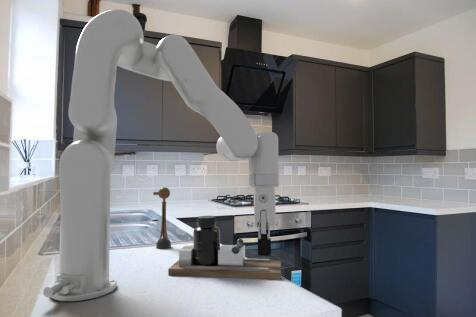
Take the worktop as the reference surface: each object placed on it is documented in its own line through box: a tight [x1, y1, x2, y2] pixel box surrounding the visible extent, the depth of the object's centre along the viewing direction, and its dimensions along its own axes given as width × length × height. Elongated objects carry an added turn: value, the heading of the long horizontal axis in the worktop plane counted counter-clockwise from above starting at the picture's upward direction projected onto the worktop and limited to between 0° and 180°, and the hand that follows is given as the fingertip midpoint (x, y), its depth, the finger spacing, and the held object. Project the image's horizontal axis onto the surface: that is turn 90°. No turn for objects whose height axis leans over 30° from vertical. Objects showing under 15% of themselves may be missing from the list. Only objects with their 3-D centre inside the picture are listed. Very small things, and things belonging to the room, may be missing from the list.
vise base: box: [167, 244, 282, 280], centre depth 81 cm, size 10×27×6 cm, turn 83°
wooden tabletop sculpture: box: [153, 186, 172, 250], centre depth 107 cm, size 6×5×20 cm
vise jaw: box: [218, 238, 246, 267], centre depth 81 cm, size 11×6×5 cm, turn 173°
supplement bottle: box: [192, 215, 221, 266], centre depth 82 cm, size 7×7×12 cm
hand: (264, 254), depth 80 cm, fingers closed
